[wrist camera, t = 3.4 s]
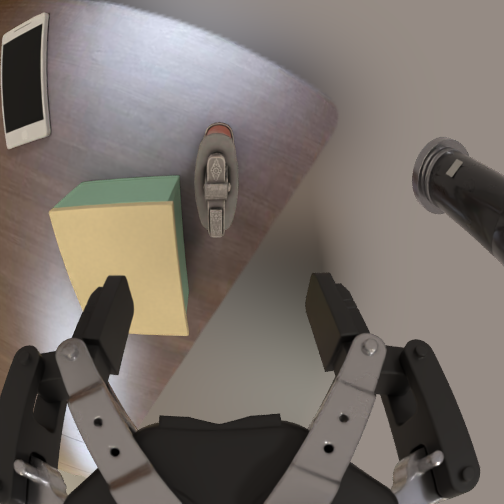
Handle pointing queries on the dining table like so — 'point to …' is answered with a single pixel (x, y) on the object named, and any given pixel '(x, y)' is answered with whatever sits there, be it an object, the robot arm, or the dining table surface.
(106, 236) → the lunchbox lid
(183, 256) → the box
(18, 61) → the smartphone
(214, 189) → the lighter
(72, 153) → the dining table surface
